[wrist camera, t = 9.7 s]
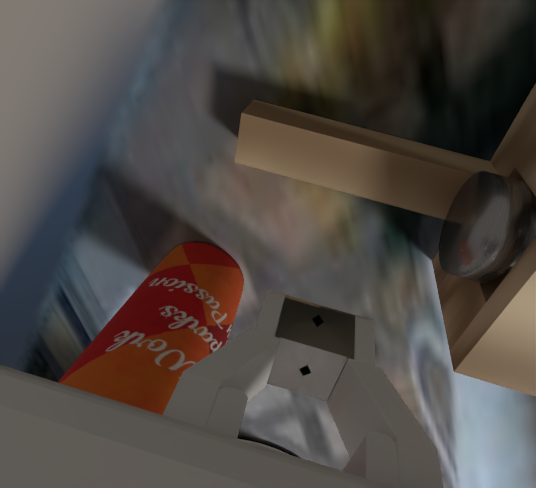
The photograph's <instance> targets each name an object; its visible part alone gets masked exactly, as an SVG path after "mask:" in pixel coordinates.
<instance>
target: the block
mask: <svg viewBox="0 0 536 488" xmlns="http://www.w3.org/2000/svg"><path fill="white" fill-rule="evenodd" d="M235 162H236V163H239V164H243V165H247V166H250V167H254V168H258V169H261V170H265V171H269V172H272V173H276V174H280V175H283V176H287V177H290V178H294V179H298V180H301V181H305V182H309V183H312V184H316V185H320V186H323V187H327V188H331V189H334V190H338V191H342V192H345V193H349V194H352V195H356V196H360V197H363V198H367V199H371V200H374V201H378V202H382V203H385V204H389V205H393V206H396V207H400V208H404V209H407V210H411V211H414V212H418V213H422V214H425V215H429V216H433V217H436V218H440V219H444V220H445V219H446V216H447V213H448V211H449V208H450V206H451V204H452V202H453V200H454V198H455V197H456V195H457V193H458V192H459V190H460V189H461V187H462V186H463V185H464V183H465V182H466V181H467V180H468V179H469V178H470V177H471V176H472V175H474V174H475V173H477V172H479V171H487V172H490V173H494V174H498V175H502V176H506V177H509V178H513V179H517V180H521V181H523V182H524V183H525V184H526V185H527V186H528V188H529V190H530V193H531V198H532V206H534V207H536V83H535V85H534V87H533V88H532V90H531V92H530V93H529V95H528V97H527V99H526V100H525V102H524V104H523V106H522V107H521V109H520V111H519V112H518V114H517V116H516V118H515V119H514V121H513V123H512V125H511V126H510V128H509V130H508V131H507V133H506V135H505V137H504V138H503V140H502V142H501V143H500V145H499V147H498V149H497V150H496V152H495V154H494V156H493V157H492V159H491V161H487V160H483V159H480V158H476V157H472V156H468V155H464V154H460V153H457V152H453V151H449V150H445V149H441V148H438V147H434V146H430V145H426V144H422V143H418V142H415V141H411V140H407V139H403V138H399V137H395V136H392V135H388V134H384V133H380V132H376V131H373V130H369V129H365V128H361V127H357V126H353V125H350V124H346V123H342V122H338V121H334V120H331V119H327V118H323V117H319V116H315V115H311V114H308V113H304V112H300V111H296V110H292V109H288V108H285V107H281V106H277V105H273V104H269V103H266V102H262V101H258V100H253V101H252V102H251V103H250V104H249V105H248V106H247V107H246V108H245V110H244V111H243V112H242V113H241V120H240V127H239V134H238V141H237V148H236V155H235ZM432 263H433V268H434V273H435V278H436V283H437V289H438V294H439V299H440V304H441V309H442V314H443V319H444V324H445V329H446V334H447V339H448V344H449V349H450V355H451V360H452V365H453V370H454V372H456V373H460V374H463V375H466V376H470V377H473V378H476V379H480V380H483V381H486V382H490V383H493V384H496V385H500V386H503V387H506V388H510V389H513V390H516V391H520V392H523V393H526V394H530V395H533V396H536V237H535V238H534V240H533V241H532V242H531V244H530V245H529V246H528V248H527V249H526V250H525V252H524V253H523V254H522V256H521V257H520V258H519V260H518V261H517V262H516V264H515V265H514V266H513V268H512V269H511V270H508V269H507V270H506V271H505V272H504V273H503V274H502V275H500V276H499V277H498V278H497V279H495V280H493V281H491V282H488V283H480V282H476V281H473V280H469V279H466V278H462V277H458V276H455V275H451V274H448V273H446V272H444V271H443V269H442V268H441V265H440V261H439V250H438V252H437V254H436V256H435V257H434V259H433V261H432Z"/></svg>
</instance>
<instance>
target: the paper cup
mask: <svg viewBox="0 0 536 488" xmlns="http://www.w3.org/2000/svg"><path fill="white" fill-rule="evenodd" d="M243 284H244V279H243V274H242V271H241V269H240V267H239V266H238V264H237V263H236V261H235V260H234V259H233V258H232V257H231V256H230V255H229V254H228V253H226V252H225V251H223V250H222V249H220V248H218V247H216V246H214V245H211V244H208V243H204V242H186V243H183V244H180V245H178V246H177V247H175V248H174V249H173V250H172V251H171V252H170V253H169V254H168V255H167V256H166V257H165V258H164V259H163V260H162V261H161V262H160V263H159V264H158V266H157V267H156V268H155V269H154V270H153V271H152V272H151V274H150V275H149V276H148V277H147V278H146V279H145V280H144V282H143V283H142V284H141V285H140V286H139V287H138V289H137V290H136V291H135V292H134V293H133V294H132V296H131V297H130V298H129V299H128V300H127V301H126V303H125V304H124V305H123V306H122V307H121V308H120V310H119V311H118V312H117V313H116V314H115V315H114V317H113V318H112V319H111V320H110V321H109V322H108V324H107V325H106V326H105V327H104V328H103V329H102V331H101V332H100V333H99V334H98V335H97V337H96V338H95V339H94V340H93V341H92V342H91V344H90V345H89V346H88V347H87V348H86V349H85V351H84V352H83V353H82V354H81V355H80V356H79V358H78V359H77V360H76V361H75V362H74V364H73V365H72V366H71V367H70V368H69V369H68V371H67V372H66V373H65V374H64V375H63V376H62V378H61V379H60V380H59V381H58V383H61V384H64V385H67V386H70V387H74V388H77V389H80V390H83V391H87V392H90V393H93V394H96V395H99V396H103V397H106V398H109V399H112V400H116V401H119V402H122V403H125V404H128V405H132V406H135V407H138V408H141V409H144V410H148V411H151V412H154V413H157V414H161V415H163V413H164V411H165V408H166V406H167V404H168V402H169V400H170V398H171V396H172V394H173V392H174V390H175V388H176V385H177V383H178V381H179V379H180V377H181V375H182V373H183V371H185V370H186V369H188V368H189V367H191V366H192V365H194V364H196V363H197V362H199V361H200V360H202V359H203V358H205V357H206V356H208V355H210V354H211V353H213V352H214V351H216V350H217V349H219V348H221V347H222V346H224V345H225V344H227V341H228V338H229V335H230V331H231V328H232V325H233V322H234V318H235V315H236V312H237V309H238V305H239V302H240V298H241V295H242V290H243Z"/></svg>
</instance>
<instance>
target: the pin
mask: <svg viewBox="0 0 536 488" xmlns="http://www.w3.org/2000/svg"><path fill="white" fill-rule="evenodd" d="M535 237H536V207H534V206H532V198H531V193H530V190H529V188H528V186H527V185H526V184H525V183H524V182H523V181H521V180H517V179H513V178H509V177H506V176H502V175H498V174H494V173H490V172H487V171H479V172H477V173H475V174H474V175H472V176H471V177H470V178H469V179H468V180H467V181H466V182H465V183H464V185H463V186H462V187H461V189H460V190H459V192H458V193H457V195H456V197H455V198H454V200H453V202H452V204H451V206H450V208H449V211H448V213H447V216H446V219H445V221H444V225H443V228H442V232H441V237H440V243H439V261H440V265H441V268H442V269H443V271H444V272H446V273H448V274H451V275H455V276H458V277H462V278H466V279H469V280H473V281H476V282H480V283H488V282H491V281H493V280H495V279H497V278H498V277H499V276H500V275H502V274H503V273H504V272H505V271H506V270H507V269H508V270H511V269H512V268H513V266H514V265H515V264H516V262H517V261H518V260H519V258H520V257H521V256H522V254H523V253H524V252H525V250H526V249H527V248H528V246H529V245H530V244H531V242H532V241H533V240H534V238H535Z"/></svg>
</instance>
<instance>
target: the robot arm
mask: <svg viewBox="0 0 536 488" xmlns="http://www.w3.org/2000/svg"><path fill="white" fill-rule="evenodd" d="M266 384H271V385H275V386H278V387H282V388H286V389H289V390H293V391H297V392H300V393H303V394H306V395H309V396H312V397H315V398H318V399H321V400H324V401H327V404H328V407H329V409H330V412H331V414H332V416H333V419H334V421H335V423H336V426H337V428H338V431H339V433H340V435H341V438H342V440H343V442H344V445H345V447H346V450H347V452H348V454H349V457H350V460H349V462H348V463H347V465H346V466H345V468H344V469H343V471H340V470H337V469H334V468H331V467H327V466H324V465H321V464H318V463H314V462H311V461H308V460H305V459H302V458H298V457H295V456H292V455H289V454H287V453H285V452H283V451H280V450H278V449H275V448H273V447H270V446H267V445H264V444H261V443H257V442H253V441H248V440H242V439H237V437H238V433H239V430H240V426H241V422H242V419H243V415H244V411H245V407H246V404H247V403H248V402H249V401H250V400H251V399H252V398H253V397H254V396H255V395H256V394H257V393H258V392H259V391H261V390H262V389H263V388H264V387H265V386H266ZM0 488H443V483H442V476H441V470H440V464H439V458H438V452H437V448H436V447H435V445H434V444H433V442H432V441H431V439H430V438H429V437H428V435H427V434H426V432H425V431H424V429H423V428H422V426H421V425H420V424H419V422H418V421H417V419H416V418H415V416H414V415H413V414H412V412H411V411H410V409H409V408H408V406H407V405H406V403H405V402H404V401H403V399H402V398H401V396H400V395H399V393H398V392H397V390H396V389H395V388H394V386H393V385H392V383H391V382H390V380H389V379H388V378H387V376H386V375H385V373H384V372H383V370H382V369H381V368H380V367H376V366H375V344H374V322H373V320H372V319H369V318H366V317H362V316H358V315H353V314H350V313H346V312H342V311H339V310H335V309H332V308H328V307H324V306H321V305H317V304H314V303H311V302H308V301H305V300H301V299H298V298H295V297H292V296H288V295H284V294H281V293H278V292H274V291H271V290H268V291H267V293H266V296H265V299H264V302H263V305H262V308H261V311H260V314H259V317H258V321H257V324H256V327H255V330H250V329H249V330H247V331H246V332H244V333H243V334H241V335H239V336H238V337H236V338H235V339H233V340H232V341H230V342H228V343H227V344H225V345H224V346H222V347H221V348H219V349H217V350H216V351H214V352H213V353H211V354H210V355H208V356H206V357H205V358H203V359H202V360H200V361H199V362H197V363H196V364H194V365H192V366H191V367H189V368H188V369H186V370H185V371H183V373H182V375H181V377H180V379H179V381H178V383H177V385H176V388H175V390H174V392H173V394H172V396H171V398H170V400H169V402H168V404H167V406H166V408H165V411H164V413H163V415H161V414H157V413H154V412H151V411H148V410H144V409H141V408H138V407H135V406H132V405H128V404H125V403H122V402H119V401H116V400H112V399H109V398H106V397H103V396H99V395H96V394H93V393H90V392H87V391H83V390H80V389H77V388H74V387H70V386H67V385H64V384H61V383H58V382H54V381H51V380H48V379H45V378H42V377H38V376H35V375H32V374H29V373H25V372H22V371H19V370H16V369H13V368H9V367H6V366H3V365H0Z"/></svg>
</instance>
